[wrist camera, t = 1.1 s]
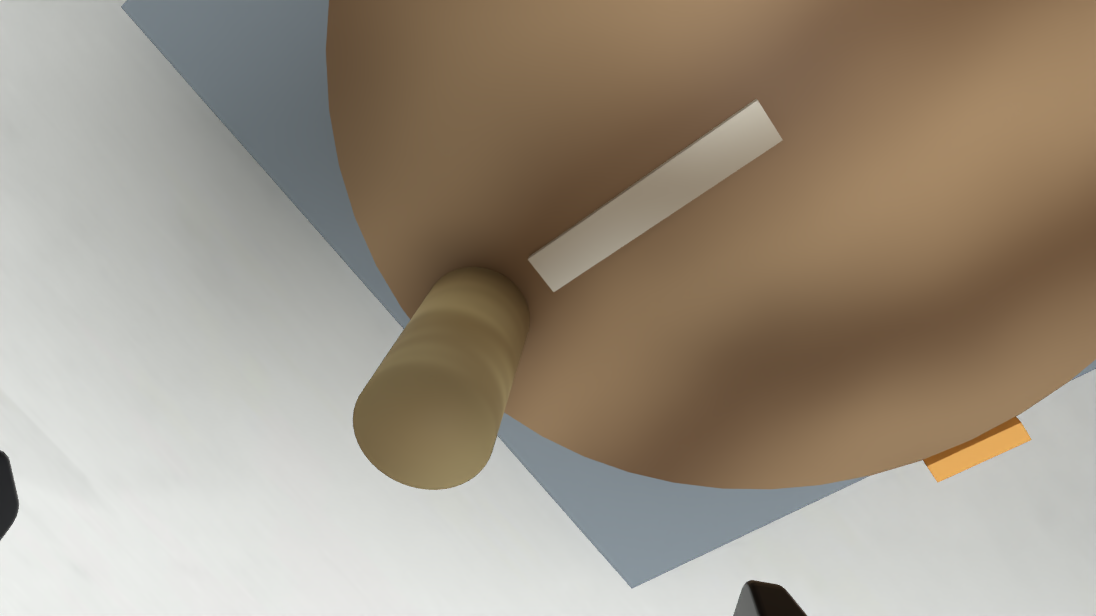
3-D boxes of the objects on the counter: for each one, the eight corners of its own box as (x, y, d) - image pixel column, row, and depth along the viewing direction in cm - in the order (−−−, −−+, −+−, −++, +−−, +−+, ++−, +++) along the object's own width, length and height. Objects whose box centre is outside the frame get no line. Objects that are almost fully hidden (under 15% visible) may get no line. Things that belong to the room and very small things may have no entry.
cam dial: (1344, 196, 16) (1816, 328, 10) (644, 543, 22) (650, 764, 16) (972, -774, 11) (1438, -1820, 5) (199, 19, 17) (-55, 34, 11)
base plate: (1389, 197, 17) (1523, 232, 14) (631, 566, 24) (631, 633, 22) (989, -903, 11) (1095, -1165, 9) (146, 6, 18) (68, 7, 16)
